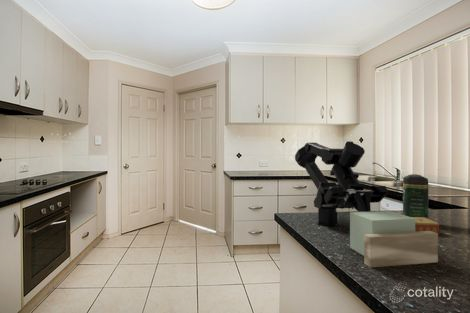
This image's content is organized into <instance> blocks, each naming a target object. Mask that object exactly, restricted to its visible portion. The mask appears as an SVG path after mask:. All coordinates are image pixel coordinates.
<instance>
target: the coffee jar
mask: <svg viewBox="0 0 470 313" xmlns="http://www.w3.org/2000/svg"><path fill="white" fill-rule="evenodd" d="M429 196H430V194H429V179H428V178H427V177H425V176H423V175H421V174H415V173H414V174H412V173H411V174H408V175H405V176H404V177H403V179H402V215H405V216H408V217H425V218H427V219H429Z"/></svg>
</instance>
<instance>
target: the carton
mask: <svg viewBox="0 0 470 313" xmlns="http://www.w3.org/2000/svg"><path fill="white" fill-rule="evenodd" d="M412 218H415V232H420V231H432V232H435V233H438V236H439V235H440V226H439V225H440V224H439V223H438V222H436V221H434V220H432V219H429V218H428V219H427V218H425V217H412Z"/></svg>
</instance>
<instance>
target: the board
mask: <svg viewBox="0 0 470 313" xmlns="http://www.w3.org/2000/svg"><path fill="white" fill-rule="evenodd" d="M438 237H439V235H438V233H435V232H432V231H420V232H402V233H384V234H366V235H364V256H363V257H364V258H363V259H364V261H363V262H364V265H365V266H367V267H368V268H378V267H379V268H380V267H394V266H405V265H419V264H421V265H422V264H431V263H432V264H433V263H438V262H439V253H438V252H439V246H438V245H439V241H438V240H439V238H438Z"/></svg>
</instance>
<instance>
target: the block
mask: <svg viewBox="0 0 470 313" xmlns="http://www.w3.org/2000/svg"><path fill="white" fill-rule="evenodd" d="M402 232H415V218H412V217H408V216H405V215H403V214H401V213H397V212H394V211H391V210H374V211H373V210H372V211H368V212H358V211H351V212H349V248H350V249H352V250H353V251H355V252H356V253H358V254H360V255H362V256H363V257H364V235H366V234H384V233H402Z"/></svg>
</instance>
